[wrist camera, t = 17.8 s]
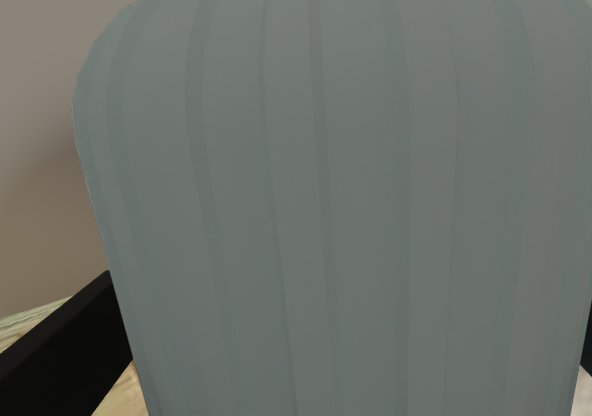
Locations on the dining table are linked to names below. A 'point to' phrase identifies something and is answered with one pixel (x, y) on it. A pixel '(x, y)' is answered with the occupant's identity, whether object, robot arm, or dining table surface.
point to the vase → (345, 202)
